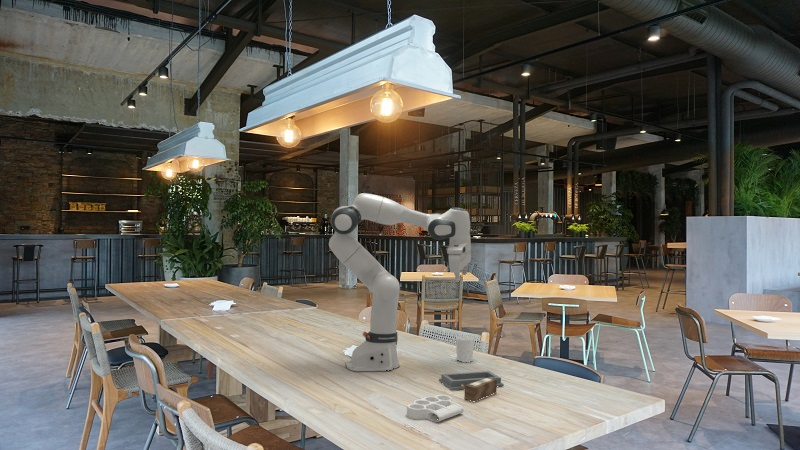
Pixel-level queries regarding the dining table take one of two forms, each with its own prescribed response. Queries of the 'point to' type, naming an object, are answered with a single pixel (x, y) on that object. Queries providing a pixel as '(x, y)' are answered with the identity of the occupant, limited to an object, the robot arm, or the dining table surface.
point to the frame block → (480, 389)
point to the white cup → (464, 348)
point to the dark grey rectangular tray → (466, 379)
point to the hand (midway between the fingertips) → (461, 277)
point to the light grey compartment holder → (434, 408)
